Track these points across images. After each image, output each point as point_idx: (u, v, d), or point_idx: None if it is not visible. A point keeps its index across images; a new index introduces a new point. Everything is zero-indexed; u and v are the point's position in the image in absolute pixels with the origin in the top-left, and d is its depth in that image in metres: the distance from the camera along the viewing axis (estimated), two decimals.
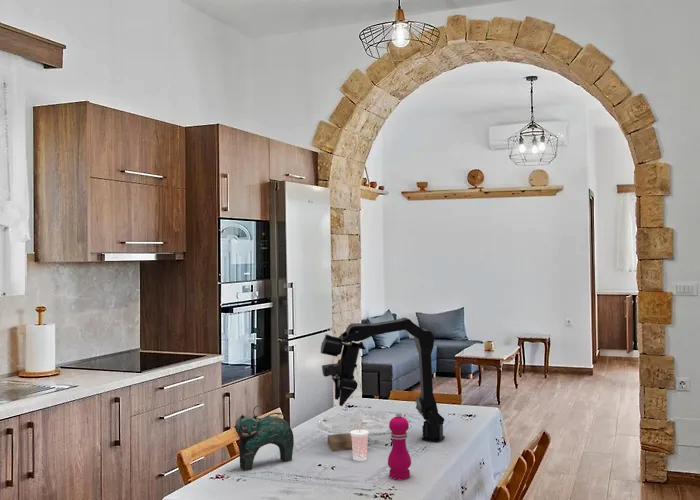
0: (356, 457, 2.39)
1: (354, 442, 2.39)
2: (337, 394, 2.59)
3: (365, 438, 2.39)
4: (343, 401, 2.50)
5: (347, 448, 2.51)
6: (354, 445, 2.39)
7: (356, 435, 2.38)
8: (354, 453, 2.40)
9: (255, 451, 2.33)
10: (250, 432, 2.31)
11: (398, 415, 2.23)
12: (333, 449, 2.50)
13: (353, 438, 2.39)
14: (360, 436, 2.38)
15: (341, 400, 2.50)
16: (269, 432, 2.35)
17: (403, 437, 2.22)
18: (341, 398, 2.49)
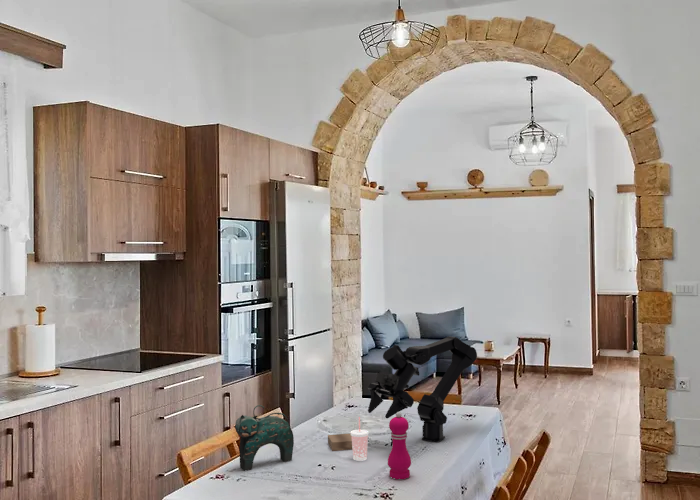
0: (356, 457, 2.39)
1: (354, 442, 2.39)
2: (372, 408, 2.50)
3: (365, 438, 2.39)
4: (391, 414, 2.42)
5: (347, 448, 2.51)
6: (354, 445, 2.39)
7: (356, 435, 2.38)
8: (354, 453, 2.40)
9: (255, 451, 2.33)
10: (251, 432, 2.31)
11: (398, 415, 2.23)
12: (333, 449, 2.50)
13: (353, 438, 2.39)
14: (360, 436, 2.38)
15: (390, 412, 2.42)
16: (269, 432, 2.35)
17: (403, 437, 2.22)
18: (391, 410, 2.42)
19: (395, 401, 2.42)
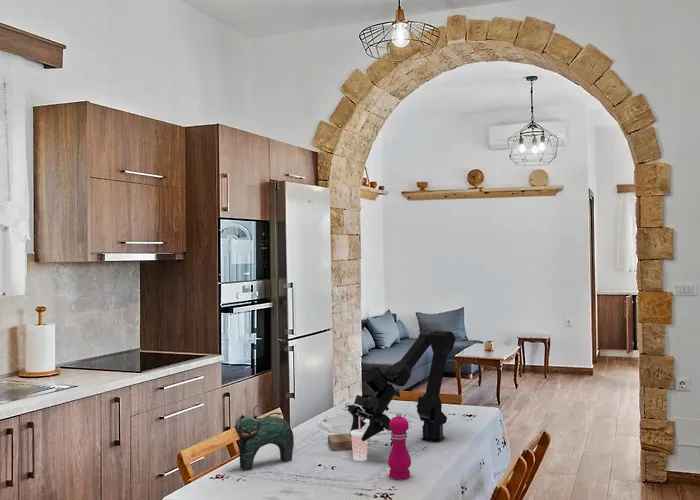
0: (356, 457, 2.39)
1: (354, 442, 2.39)
2: None
3: None
4: (367, 437, 2.38)
5: (347, 448, 2.51)
6: (354, 445, 2.39)
7: (356, 435, 2.38)
8: (354, 453, 2.40)
9: (255, 451, 2.33)
10: (250, 432, 2.31)
11: (398, 415, 2.23)
12: (333, 449, 2.50)
13: (353, 438, 2.39)
14: (360, 436, 2.38)
15: (366, 435, 2.38)
16: (269, 432, 2.35)
17: (403, 437, 2.22)
18: (367, 433, 2.38)
19: (371, 424, 2.38)
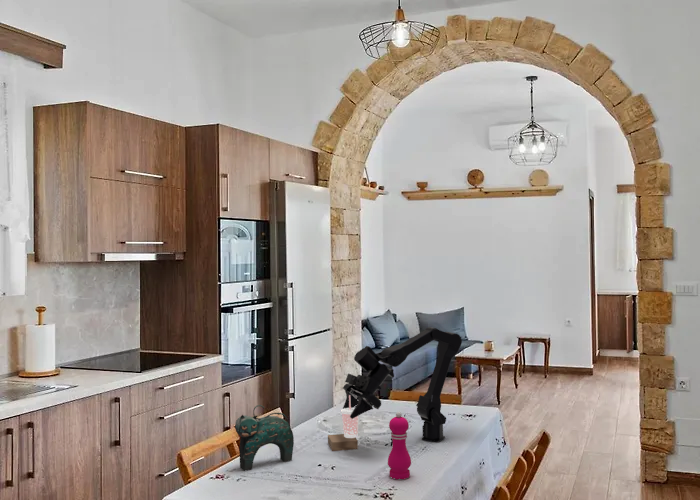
0: (346, 434, 2.44)
1: (344, 419, 2.45)
2: None
3: None
4: (355, 414, 2.43)
5: (347, 448, 2.51)
6: (344, 422, 2.45)
7: (345, 412, 2.44)
8: (344, 430, 2.45)
9: (255, 451, 2.33)
10: (250, 432, 2.31)
11: (398, 415, 2.23)
12: (333, 449, 2.50)
13: (343, 415, 2.45)
14: (349, 413, 2.43)
15: (354, 413, 2.42)
16: (269, 432, 2.35)
17: (403, 437, 2.22)
18: (355, 411, 2.42)
19: (360, 402, 2.42)
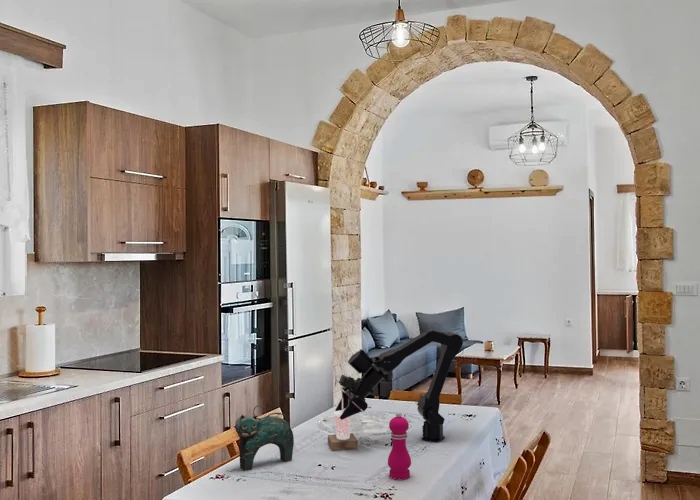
0: (337, 436, 2.54)
1: (335, 421, 2.54)
2: (339, 408, 2.59)
3: (345, 418, 2.52)
4: (345, 416, 2.50)
5: (347, 448, 2.51)
6: None
7: (336, 414, 2.53)
8: (336, 431, 2.54)
9: (255, 451, 2.33)
10: (250, 432, 2.31)
11: (398, 415, 2.23)
12: (333, 449, 2.50)
13: (335, 417, 2.54)
14: (339, 416, 2.52)
15: (344, 414, 2.49)
16: (269, 432, 2.35)
17: (403, 437, 2.22)
18: (345, 412, 2.49)
19: (349, 404, 2.48)
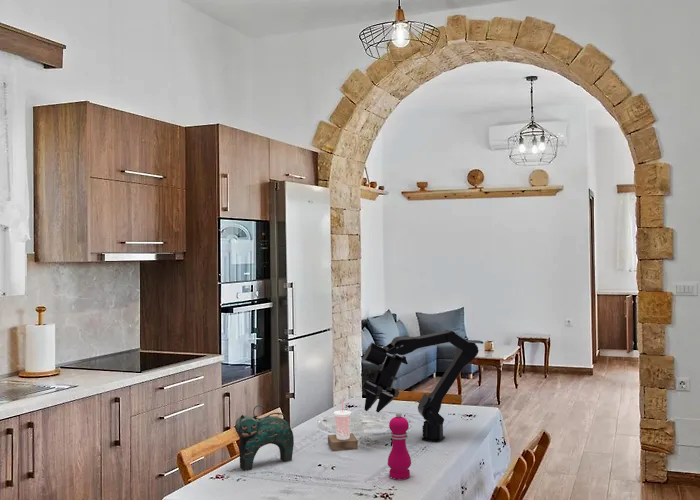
0: (337, 436, 2.54)
1: (335, 421, 2.54)
2: (379, 407, 2.61)
3: (345, 419, 2.52)
4: (367, 406, 2.53)
5: (347, 448, 2.51)
6: None
7: (336, 415, 2.53)
8: (336, 431, 2.54)
9: (255, 451, 2.33)
10: (250, 432, 2.31)
11: (398, 415, 2.23)
12: (333, 449, 2.50)
13: (335, 417, 2.54)
14: (339, 416, 2.52)
15: (366, 404, 2.53)
16: (269, 432, 2.35)
17: (403, 437, 2.22)
18: (366, 402, 2.53)
19: None
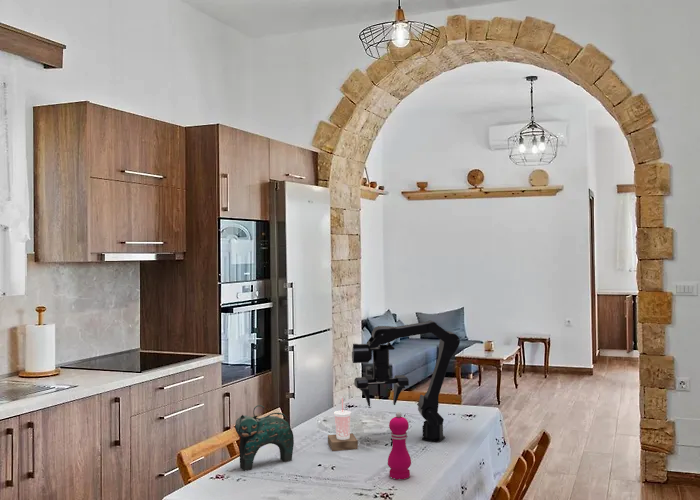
0: (337, 436, 2.54)
1: (335, 421, 2.54)
2: (393, 399, 2.60)
3: (345, 419, 2.52)
4: (367, 401, 2.58)
5: (347, 448, 2.51)
6: None
7: (336, 415, 2.53)
8: (336, 431, 2.54)
9: (255, 451, 2.33)
10: (251, 432, 2.31)
11: (398, 415, 2.23)
12: (333, 449, 2.50)
13: (335, 417, 2.54)
14: (339, 416, 2.52)
15: None
16: (269, 432, 2.35)
17: (403, 437, 2.22)
18: (366, 398, 2.59)
19: None
